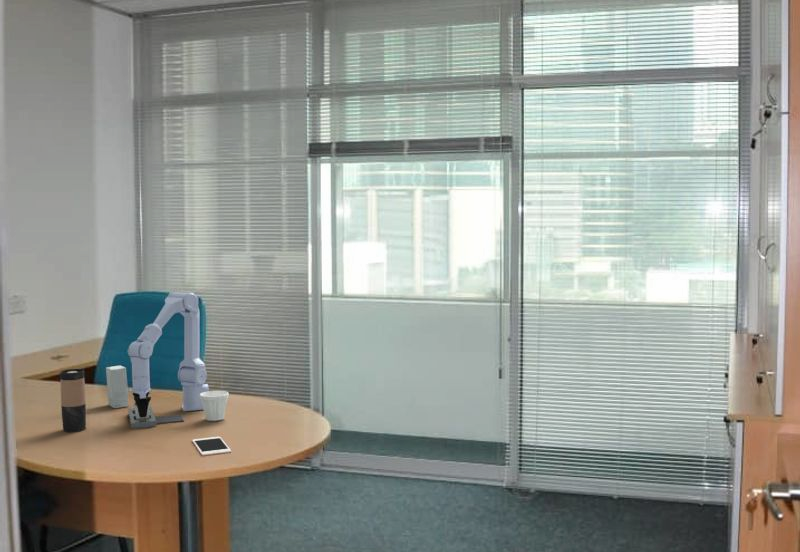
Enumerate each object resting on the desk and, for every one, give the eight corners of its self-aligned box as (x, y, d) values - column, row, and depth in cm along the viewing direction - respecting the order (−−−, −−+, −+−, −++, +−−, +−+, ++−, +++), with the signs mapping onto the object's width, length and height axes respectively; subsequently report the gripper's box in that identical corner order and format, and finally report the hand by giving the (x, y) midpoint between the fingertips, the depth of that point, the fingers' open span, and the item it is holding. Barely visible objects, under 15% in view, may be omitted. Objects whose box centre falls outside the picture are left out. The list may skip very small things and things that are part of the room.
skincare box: (129, 406, 311) (127, 367, 310) (112, 409, 308) (111, 369, 307) (123, 402, 318) (121, 364, 317) (106, 404, 315) (105, 366, 314)
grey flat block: (151, 412, 302) (151, 406, 302) (156, 426, 282) (156, 420, 282) (128, 414, 299) (128, 408, 299) (131, 429, 279) (131, 423, 279)
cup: (222, 423, 285) (221, 397, 284) (195, 422, 287) (194, 396, 286) (233, 416, 294) (233, 391, 294) (207, 415, 296) (206, 390, 296)
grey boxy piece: (149, 420, 290) (149, 401, 290) (151, 424, 285) (150, 404, 285) (134, 422, 288) (133, 402, 288) (135, 425, 283) (134, 405, 283)
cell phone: (202, 457, 247) (202, 454, 247) (192, 442, 263) (191, 439, 263) (231, 453, 250) (231, 450, 250) (219, 439, 267) (219, 436, 267)
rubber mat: (180, 415, 297) (180, 414, 297) (183, 421, 288) (183, 420, 288) (154, 418, 294) (154, 417, 293) (156, 424, 285) (156, 422, 285)
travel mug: (91, 427, 281) (89, 369, 280) (75, 433, 274) (73, 373, 273) (73, 425, 284) (70, 368, 282) (57, 431, 277) (54, 372, 275)
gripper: (127, 373, 291) (129, 411, 292) (129, 380, 277) (131, 420, 278) (148, 371, 293) (149, 409, 294) (151, 379, 280) (153, 418, 281)
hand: (142, 414), depth 287 cm, fingers open, 6 cm apart
